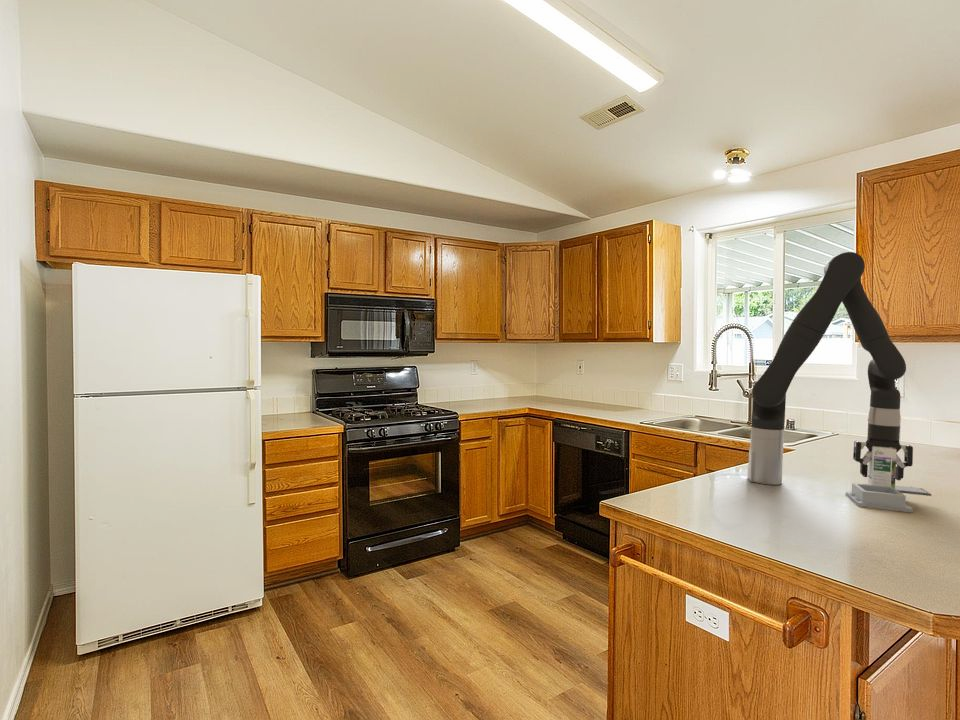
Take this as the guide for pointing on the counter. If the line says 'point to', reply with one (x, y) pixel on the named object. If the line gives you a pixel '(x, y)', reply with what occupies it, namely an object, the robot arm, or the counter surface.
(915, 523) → the counter surface
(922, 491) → the slab
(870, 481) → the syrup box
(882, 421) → the robot arm
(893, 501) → the grey square socket
